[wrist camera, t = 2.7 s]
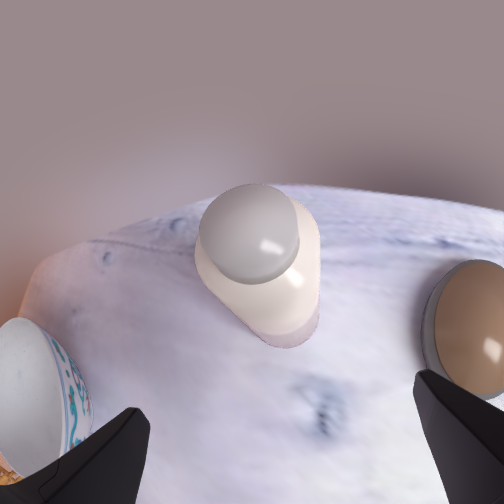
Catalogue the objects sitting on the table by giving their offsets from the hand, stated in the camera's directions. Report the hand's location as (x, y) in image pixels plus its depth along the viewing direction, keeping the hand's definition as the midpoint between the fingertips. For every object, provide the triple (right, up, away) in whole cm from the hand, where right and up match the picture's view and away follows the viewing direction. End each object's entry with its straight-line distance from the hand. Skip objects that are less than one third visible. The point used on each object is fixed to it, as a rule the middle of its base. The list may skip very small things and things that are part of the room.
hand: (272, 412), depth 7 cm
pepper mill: (+2, 0, +14) cm, 14 cm away
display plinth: (+18, -2, +9) cm, 20 cm away
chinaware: (-19, -11, +14) cm, 26 cm away
